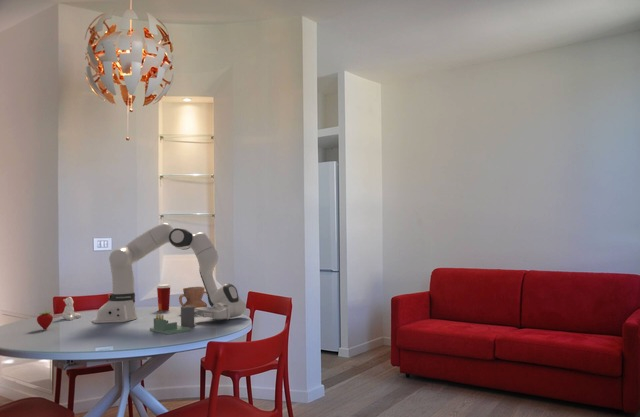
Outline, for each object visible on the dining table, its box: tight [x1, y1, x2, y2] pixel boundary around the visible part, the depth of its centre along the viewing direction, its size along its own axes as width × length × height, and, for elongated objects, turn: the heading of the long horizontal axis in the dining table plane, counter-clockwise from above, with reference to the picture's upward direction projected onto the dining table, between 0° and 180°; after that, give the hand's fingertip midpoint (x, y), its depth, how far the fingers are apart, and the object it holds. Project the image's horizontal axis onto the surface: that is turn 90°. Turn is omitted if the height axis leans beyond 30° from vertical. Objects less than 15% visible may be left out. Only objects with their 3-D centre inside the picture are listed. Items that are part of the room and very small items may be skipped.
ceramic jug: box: [178, 286, 208, 309], centre depth 309 cm, size 18×14×14 cm
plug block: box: [180, 305, 195, 329], centre depth 263 cm, size 5×5×11 cm
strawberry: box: [36, 310, 54, 330], centre depth 262 cm, size 6×8×10 cm
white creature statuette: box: [61, 296, 82, 321], centre depth 292 cm, size 10×9×12 cm
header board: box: [149, 313, 191, 335], centre depth 255 cm, size 12×16×8 cm
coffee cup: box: [156, 283, 171, 312], centre depth 317 cm, size 8×8×15 cm
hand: (197, 314), depth 267 cm, fingers open, 8 cm apart
